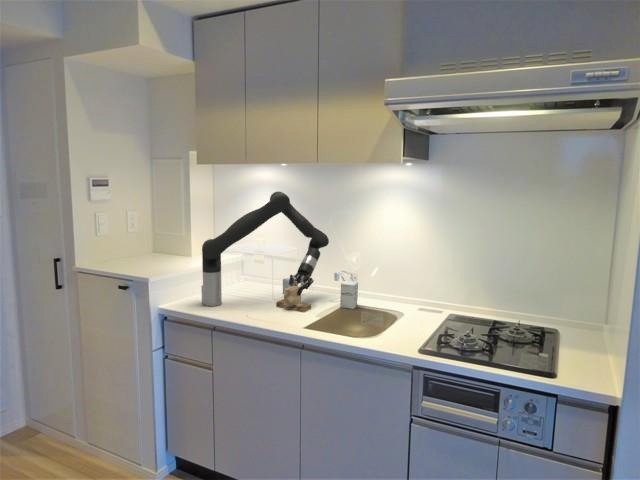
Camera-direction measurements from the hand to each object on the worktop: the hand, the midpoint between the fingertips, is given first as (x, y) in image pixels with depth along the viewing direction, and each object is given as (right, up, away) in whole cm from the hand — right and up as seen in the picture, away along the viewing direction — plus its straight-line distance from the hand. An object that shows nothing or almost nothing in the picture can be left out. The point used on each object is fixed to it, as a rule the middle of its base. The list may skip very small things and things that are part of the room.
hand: (294, 293), depth 233 cm
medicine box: (-4, -4, +26) cm, 26 cm away
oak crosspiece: (-1, -5, -1) cm, 5 cm away
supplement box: (+28, -7, +4) cm, 29 cm away
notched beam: (0, -7, 0) cm, 7 cm away
